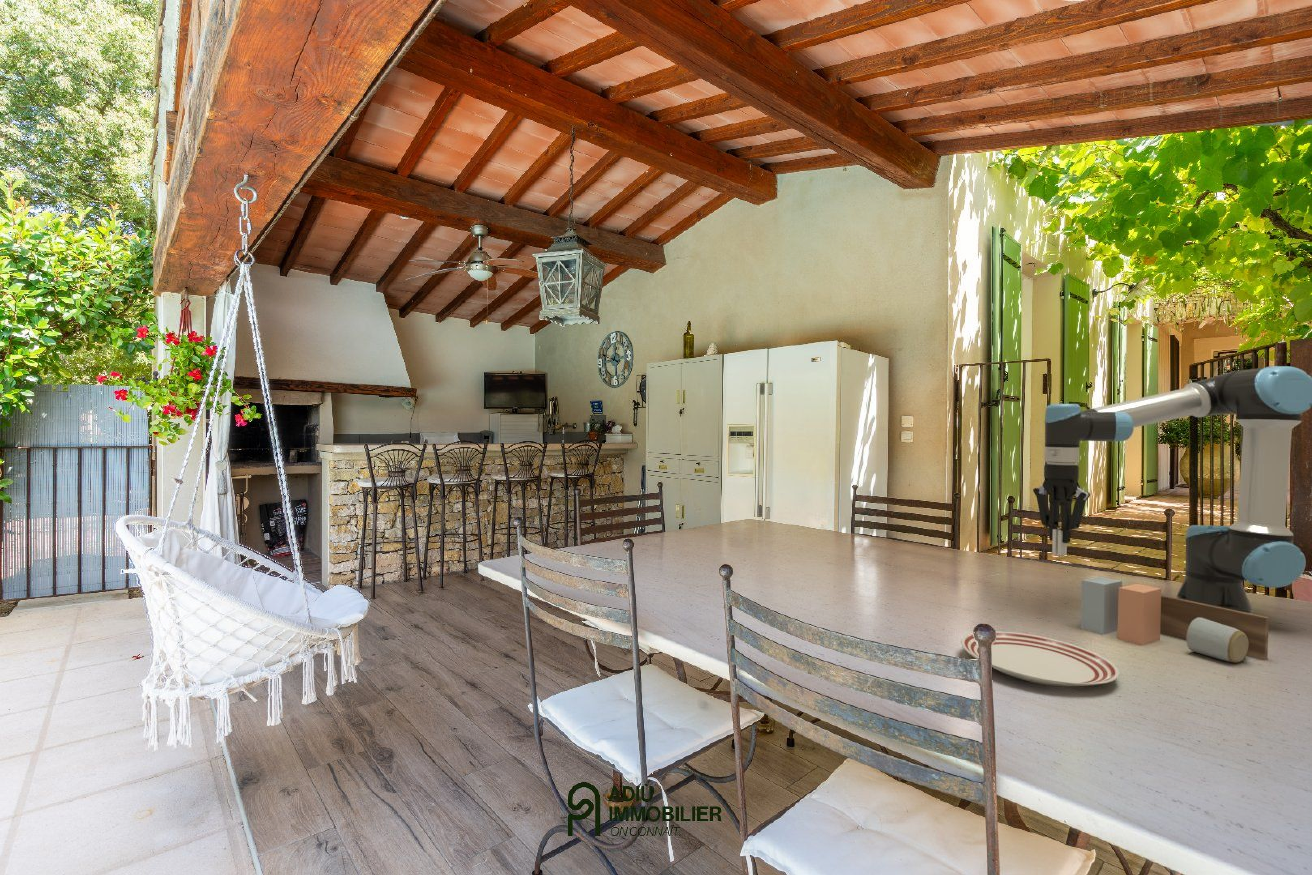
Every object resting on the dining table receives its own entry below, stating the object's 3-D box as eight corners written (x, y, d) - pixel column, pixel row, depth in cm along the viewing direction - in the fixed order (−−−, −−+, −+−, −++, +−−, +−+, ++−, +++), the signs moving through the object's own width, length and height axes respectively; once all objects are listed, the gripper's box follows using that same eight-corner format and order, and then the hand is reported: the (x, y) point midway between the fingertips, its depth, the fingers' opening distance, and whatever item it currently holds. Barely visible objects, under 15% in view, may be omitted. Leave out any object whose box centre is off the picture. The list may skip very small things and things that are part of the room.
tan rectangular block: (1135, 633, 147) (1136, 583, 147) (1160, 639, 143) (1161, 588, 143) (1117, 638, 144) (1118, 587, 143) (1142, 645, 139) (1143, 592, 139)
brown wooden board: (1101, 617, 160) (1102, 582, 160) (1267, 658, 131) (1268, 617, 131) (1098, 617, 159) (1099, 583, 159) (1264, 659, 131) (1265, 618, 131)
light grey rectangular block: (1098, 623, 154) (1099, 576, 154) (1120, 629, 150) (1122, 580, 150) (1080, 628, 151) (1081, 579, 150) (1103, 634, 146) (1104, 584, 146)
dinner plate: (1092, 654, 134) (1092, 638, 134) (1143, 708, 108) (1144, 689, 108) (953, 638, 143) (953, 624, 143) (970, 684, 118) (970, 667, 118)
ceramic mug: (1231, 667, 127) (1232, 630, 127) (1184, 653, 134) (1185, 618, 134) (1258, 660, 131) (1260, 624, 131) (1211, 647, 139) (1213, 613, 138)
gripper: (1026, 462, 163) (1024, 550, 163) (1081, 465, 151) (1079, 561, 151) (1042, 461, 166) (1040, 548, 167) (1098, 464, 154) (1096, 558, 155)
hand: (1059, 554), depth 159 cm, fingers closed
